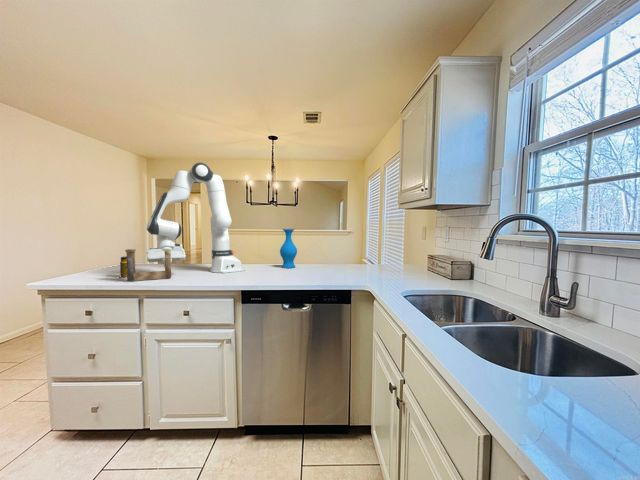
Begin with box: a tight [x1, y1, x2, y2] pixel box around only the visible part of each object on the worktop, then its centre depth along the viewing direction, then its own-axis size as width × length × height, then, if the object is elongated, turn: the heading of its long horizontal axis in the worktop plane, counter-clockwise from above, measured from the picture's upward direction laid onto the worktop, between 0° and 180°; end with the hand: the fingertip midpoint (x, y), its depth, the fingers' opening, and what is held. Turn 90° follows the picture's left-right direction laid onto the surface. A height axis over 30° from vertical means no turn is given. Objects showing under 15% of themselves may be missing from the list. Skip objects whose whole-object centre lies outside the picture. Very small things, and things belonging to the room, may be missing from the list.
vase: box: [279, 228, 298, 269], centre depth 206 cm, size 12×13×28 cm
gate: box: [128, 249, 172, 282], centre depth 159 cm, size 21×3×17 cm, turn 120°
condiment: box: [115, 255, 127, 278], centre depth 167 cm, size 7×8×12 cm
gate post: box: [125, 248, 136, 282], centre depth 158 cm, size 4×4×17 cm
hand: (167, 266), depth 165 cm, fingers closed
